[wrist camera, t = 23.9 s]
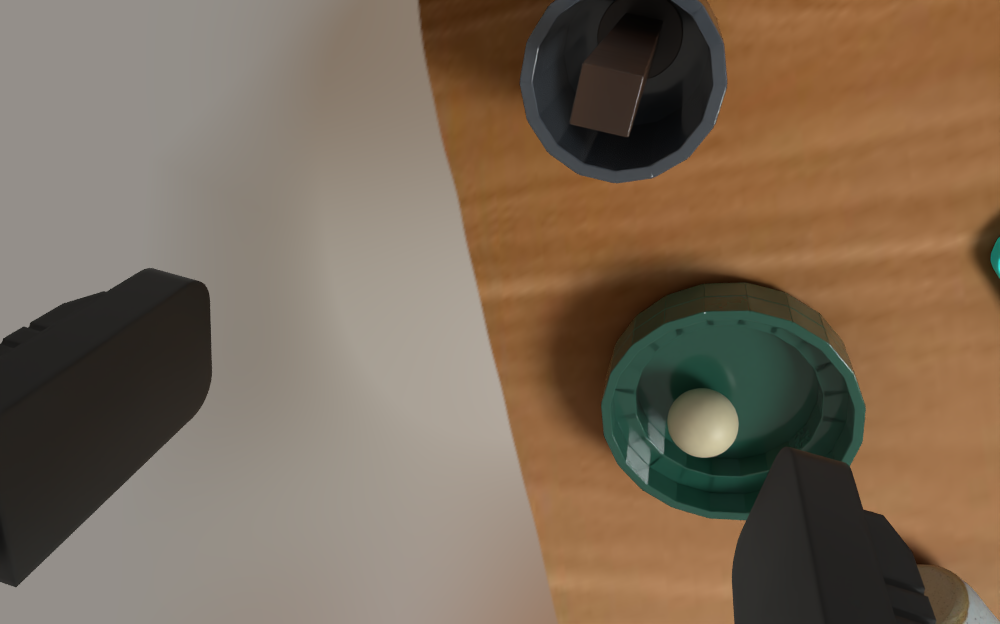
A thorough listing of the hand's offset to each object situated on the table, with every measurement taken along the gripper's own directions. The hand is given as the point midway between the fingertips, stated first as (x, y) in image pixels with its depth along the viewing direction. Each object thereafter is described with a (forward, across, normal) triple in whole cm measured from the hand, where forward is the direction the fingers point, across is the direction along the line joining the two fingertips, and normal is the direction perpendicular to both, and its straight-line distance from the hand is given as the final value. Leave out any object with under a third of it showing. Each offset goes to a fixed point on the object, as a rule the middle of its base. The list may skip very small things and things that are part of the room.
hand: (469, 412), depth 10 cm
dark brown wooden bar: (+34, 0, -1) cm, 34 cm away
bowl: (+35, -11, +19) cm, 41 cm away
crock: (+35, 0, 0) cm, 35 cm away
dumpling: (+32, -10, +20) cm, 40 cm away
